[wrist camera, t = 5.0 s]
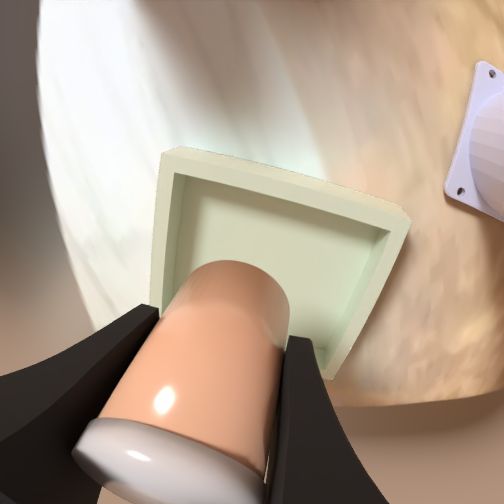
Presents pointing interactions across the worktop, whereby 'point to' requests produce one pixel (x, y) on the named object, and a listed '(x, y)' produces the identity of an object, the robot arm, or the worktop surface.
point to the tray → (277, 241)
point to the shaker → (197, 396)
